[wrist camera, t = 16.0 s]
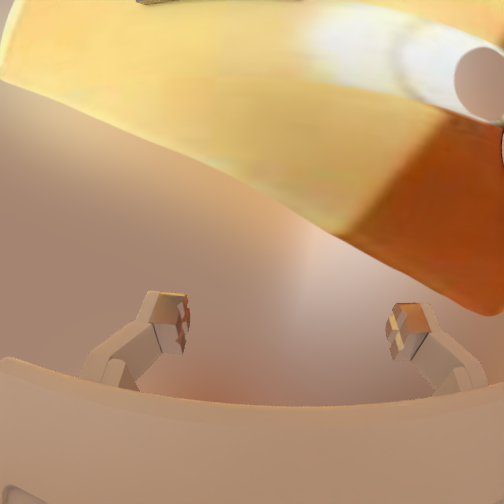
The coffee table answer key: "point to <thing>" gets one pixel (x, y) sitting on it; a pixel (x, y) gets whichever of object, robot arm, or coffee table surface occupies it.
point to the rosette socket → (151, 1)
